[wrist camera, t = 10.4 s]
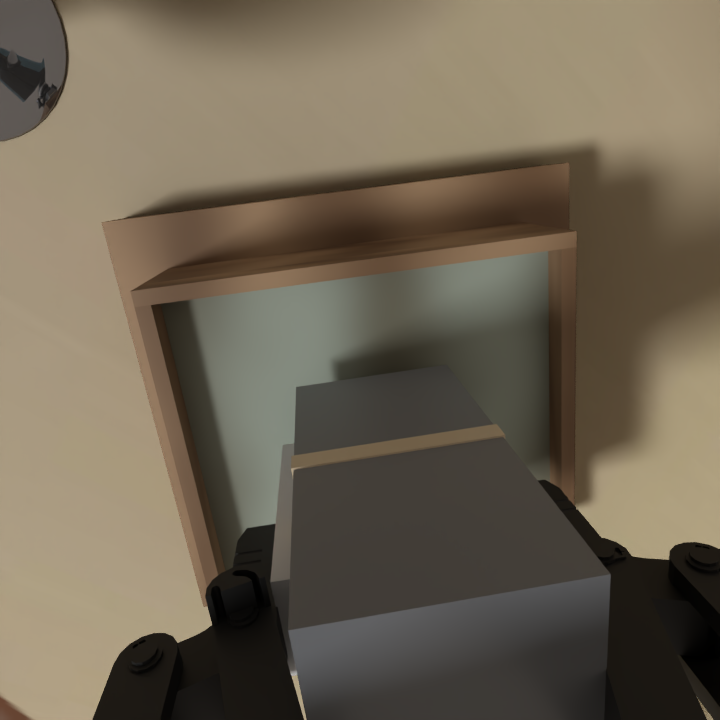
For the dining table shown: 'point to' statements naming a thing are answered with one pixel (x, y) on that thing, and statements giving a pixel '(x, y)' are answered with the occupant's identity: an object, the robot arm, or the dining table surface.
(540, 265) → the pedestal
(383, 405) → the grey banded box
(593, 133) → the dining table surface
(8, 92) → the silver metal goblet
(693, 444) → the dining table surface
